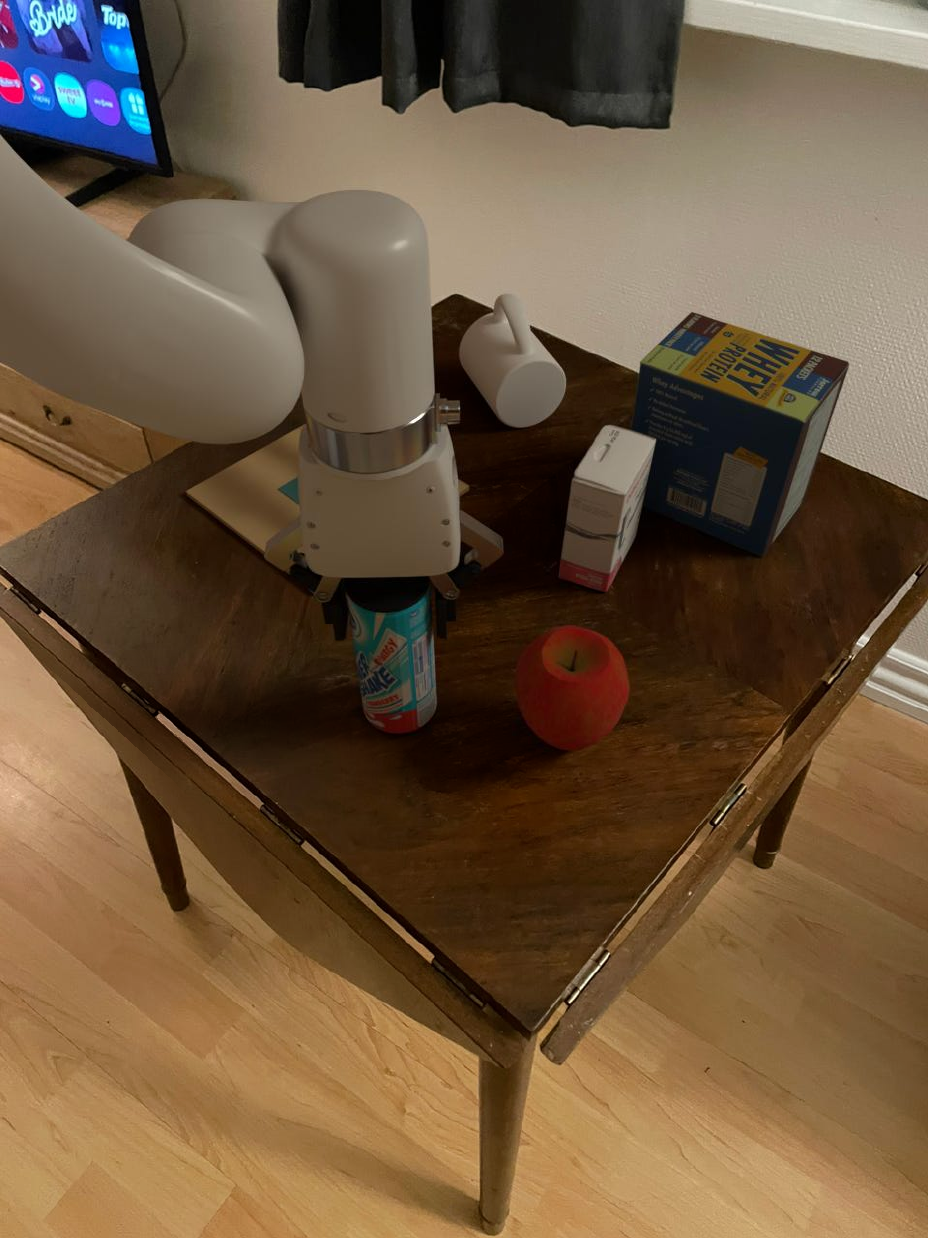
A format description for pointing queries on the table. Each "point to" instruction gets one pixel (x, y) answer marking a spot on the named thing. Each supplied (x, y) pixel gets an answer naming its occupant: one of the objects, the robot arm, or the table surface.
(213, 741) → the table surface
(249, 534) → the cork mat
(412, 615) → the beverage can
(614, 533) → the ink box
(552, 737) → the apple
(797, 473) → the protein box
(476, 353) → the mug
